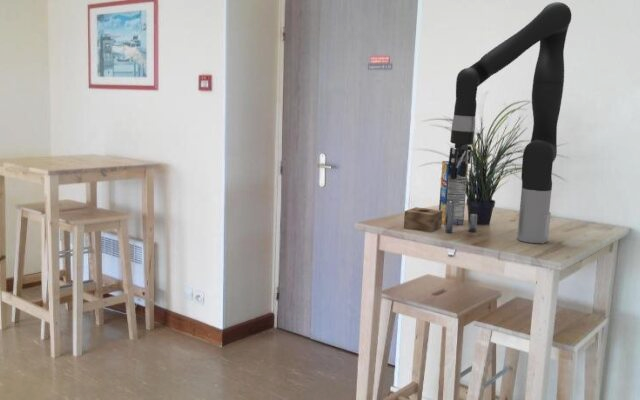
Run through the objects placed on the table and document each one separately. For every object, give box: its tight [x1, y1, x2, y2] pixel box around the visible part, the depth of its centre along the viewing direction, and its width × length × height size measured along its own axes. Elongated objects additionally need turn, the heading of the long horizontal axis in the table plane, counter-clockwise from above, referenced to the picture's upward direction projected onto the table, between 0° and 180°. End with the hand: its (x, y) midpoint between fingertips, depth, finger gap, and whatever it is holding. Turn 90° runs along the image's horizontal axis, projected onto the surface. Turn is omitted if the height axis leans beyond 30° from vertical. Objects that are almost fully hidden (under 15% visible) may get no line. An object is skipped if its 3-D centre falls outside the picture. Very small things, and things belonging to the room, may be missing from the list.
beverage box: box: [438, 160, 469, 226], centre depth 228 cm, size 7×11×22 cm, turn 1°
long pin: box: [444, 200, 455, 234], centre depth 211 cm, size 2×2×11 cm
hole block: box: [403, 206, 443, 233], centre depth 217 cm, size 10×10×6 cm
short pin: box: [468, 213, 478, 233], centre depth 214 cm, size 2×2×6 cm
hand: (457, 177), depth 209 cm, fingers open, 8 cm apart
